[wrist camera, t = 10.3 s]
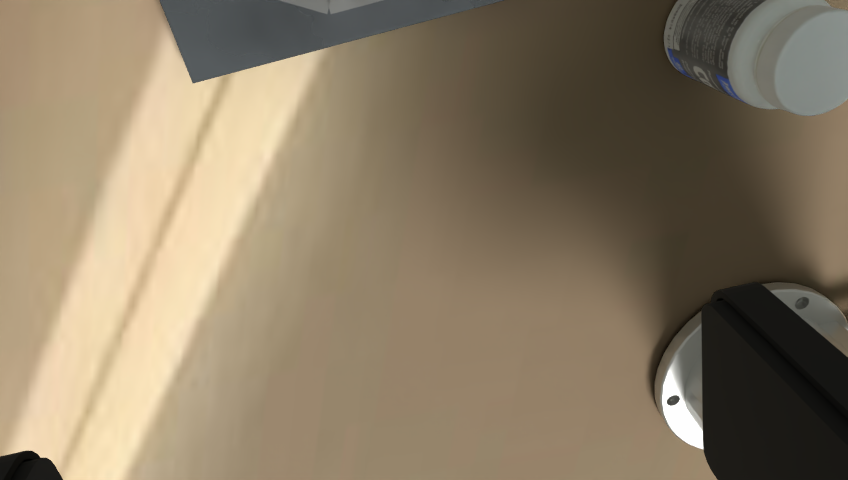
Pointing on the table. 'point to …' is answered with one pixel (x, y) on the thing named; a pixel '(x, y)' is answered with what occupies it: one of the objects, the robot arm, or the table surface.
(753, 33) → the pill bottle
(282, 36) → the hub plate
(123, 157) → the table surface
